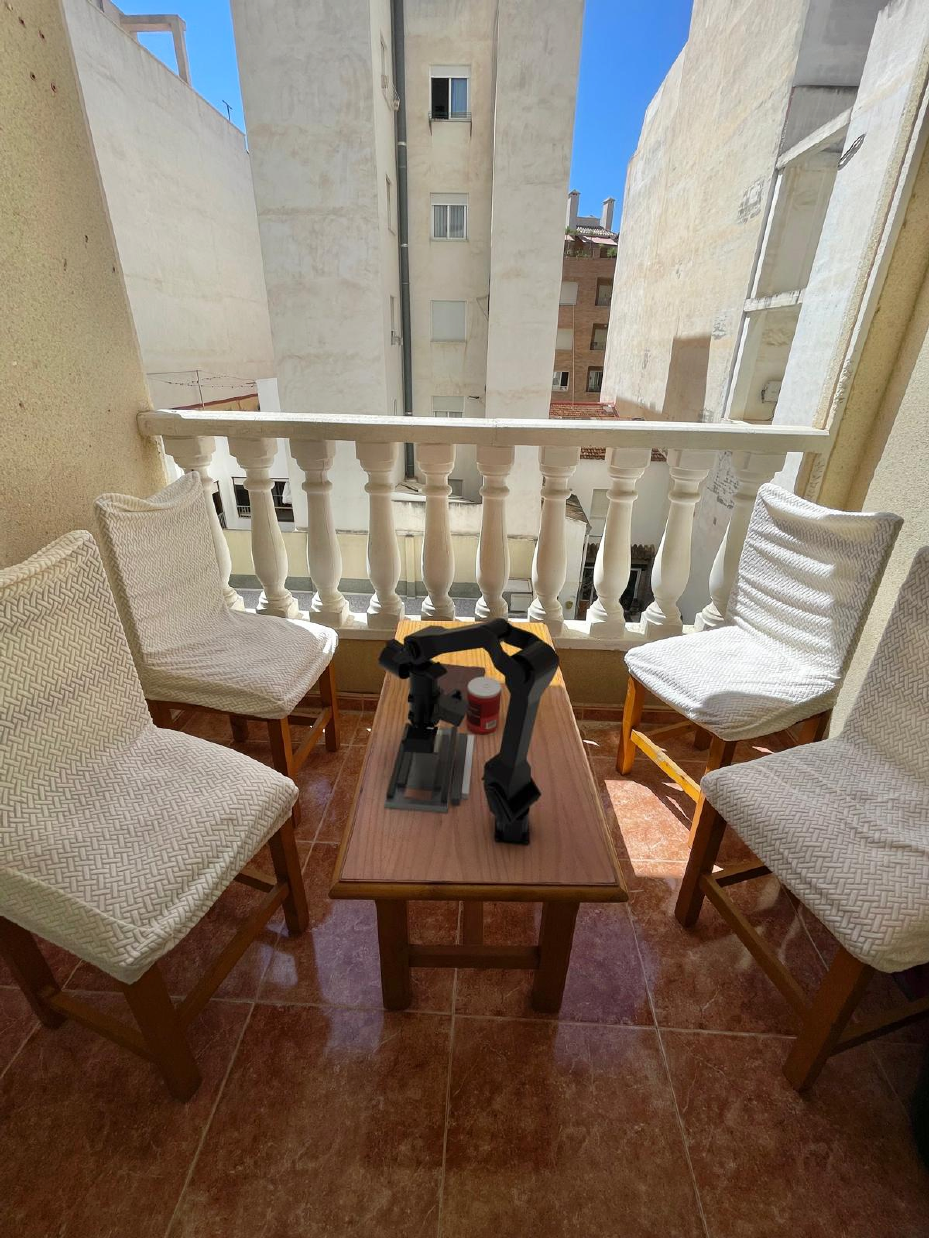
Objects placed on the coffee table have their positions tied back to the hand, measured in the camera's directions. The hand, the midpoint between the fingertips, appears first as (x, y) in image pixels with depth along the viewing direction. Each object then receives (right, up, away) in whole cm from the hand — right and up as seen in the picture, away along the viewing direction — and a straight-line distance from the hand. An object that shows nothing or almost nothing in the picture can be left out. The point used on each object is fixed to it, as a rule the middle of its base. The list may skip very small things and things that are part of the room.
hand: (423, 750), depth 115 cm
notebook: (+5, +8, +29) cm, 31 cm away
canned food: (+13, +2, +16) cm, 21 cm away
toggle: (0, -1, +6) cm, 6 cm away
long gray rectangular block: (+8, -5, +2) cm, 10 cm away
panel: (0, -4, +3) cm, 5 cm away
